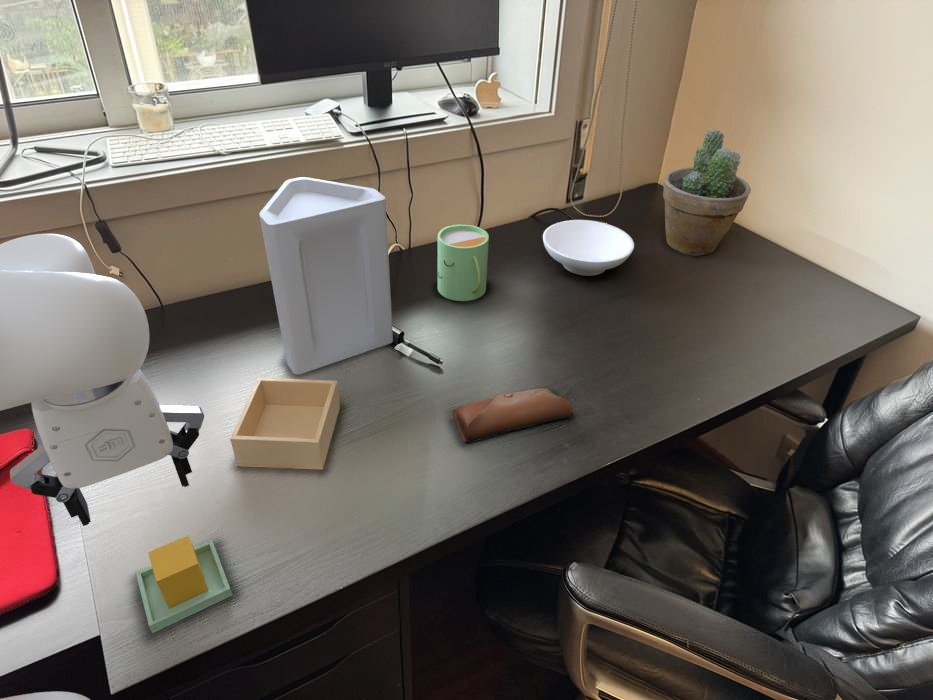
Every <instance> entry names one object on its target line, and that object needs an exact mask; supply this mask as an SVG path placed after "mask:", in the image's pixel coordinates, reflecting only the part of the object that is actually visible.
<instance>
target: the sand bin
mask: <svg viewBox="0 0 933 700" xmlns="http://www.w3.org/2000/svg"><path fill="white" fill-rule="evenodd" d="M247 398H248V399H247V401H246V402H245V405H244V407H243V409H242V411H241V414H240V416H239V418H238V420H237V423H236V424H235V426H234V429H233V431H232V433H231V435H230V438H229V440H230V444H231V448H232V451H233V454H234V455H233V456H234V458H235V462H236V466H237V467H244V468H247V467H248V468H269V469H270V468H271V469H292V470H293V469H296V470H319V471H322V470H324V467H325V463H326V460H327V456H328V453H329V450H330V446H331V442H332V439H333V434H334V431H335V428H336V423H337V421H338V417H339V413H340V409H341V403H340V394H339V386H338V381H337V380H326V379H325V380H323V379H321V380H320V379H302V378H301V379H300V378H299V379H298V378H296V379H295V378H275V377H274V378H272V377H257V379H256V380H255V383H254V385H253V387H252V390H251V391H250V394H249V396H248V397H247Z"/></svg>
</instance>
